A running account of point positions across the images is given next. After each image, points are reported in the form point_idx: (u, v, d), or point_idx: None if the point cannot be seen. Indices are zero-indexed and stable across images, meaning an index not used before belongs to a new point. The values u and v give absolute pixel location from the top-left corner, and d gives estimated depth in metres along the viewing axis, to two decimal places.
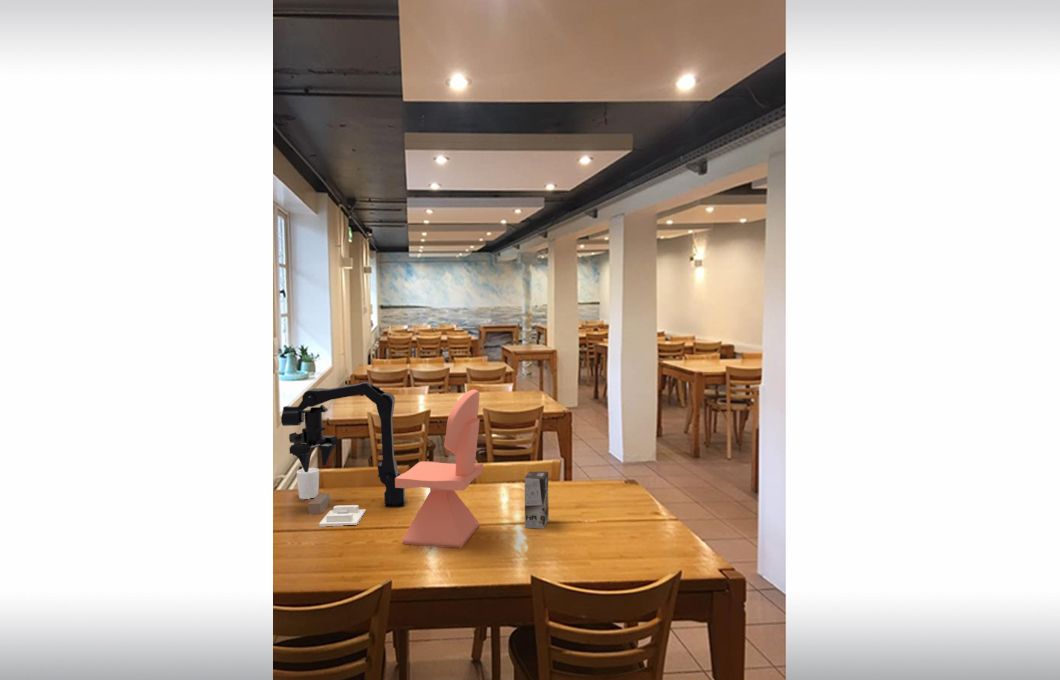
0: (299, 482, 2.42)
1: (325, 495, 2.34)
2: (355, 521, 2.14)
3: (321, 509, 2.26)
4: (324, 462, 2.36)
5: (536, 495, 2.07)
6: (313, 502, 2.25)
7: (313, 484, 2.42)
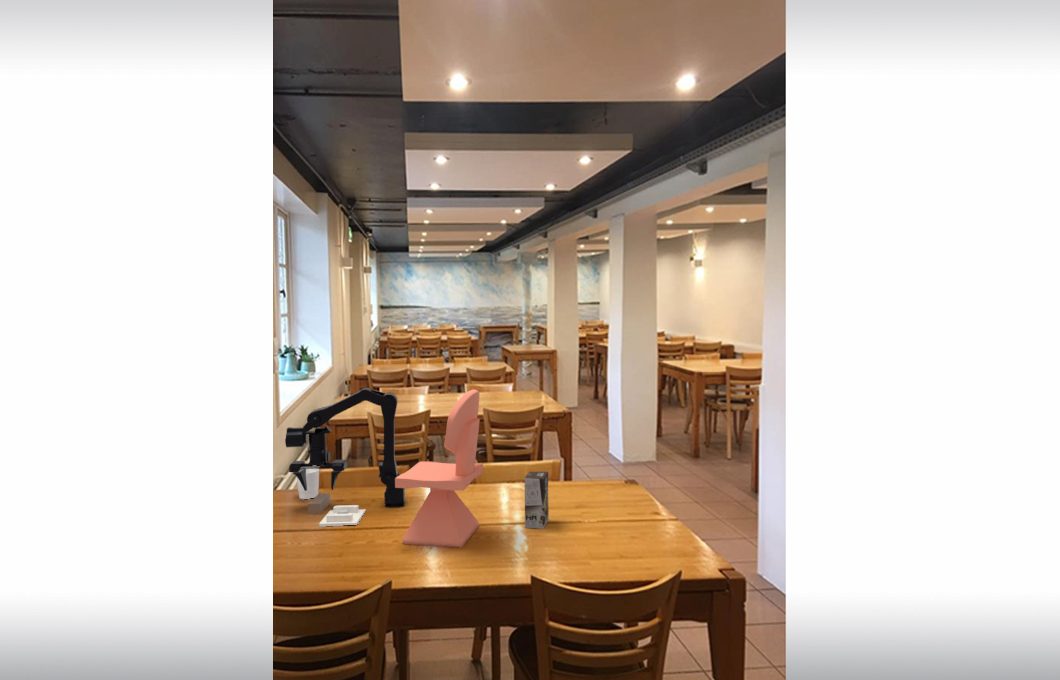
0: (299, 482, 2.42)
1: (325, 495, 2.34)
2: (355, 521, 2.14)
3: (321, 509, 2.26)
4: None
5: (536, 495, 2.07)
6: (312, 502, 2.25)
7: (313, 484, 2.42)
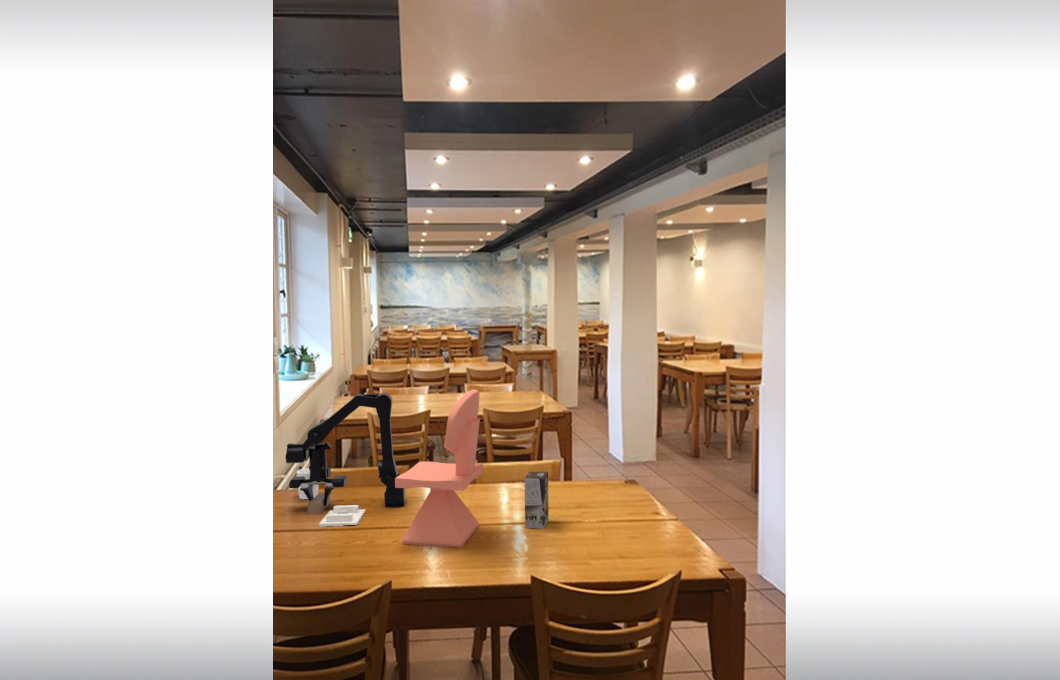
0: None
1: None
2: (355, 521, 2.14)
3: (320, 509, 2.26)
4: None
5: (536, 495, 2.07)
6: (312, 502, 2.25)
7: None
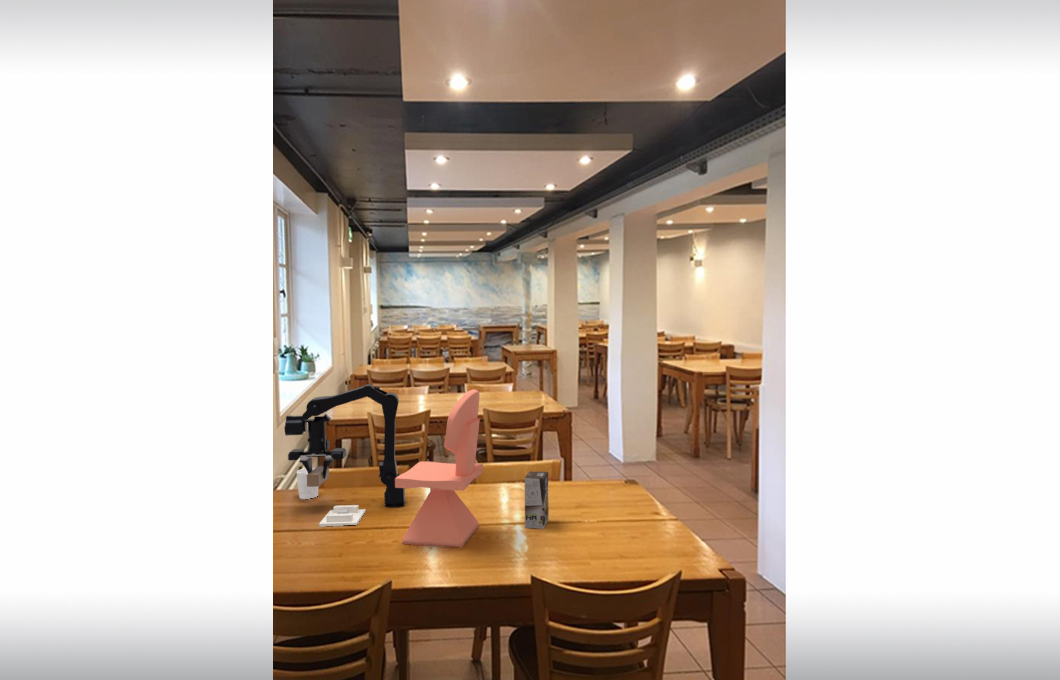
0: (299, 482, 2.42)
1: None
2: (355, 521, 2.14)
3: (320, 480, 2.25)
4: None
5: (536, 495, 2.07)
6: (311, 474, 2.25)
7: None
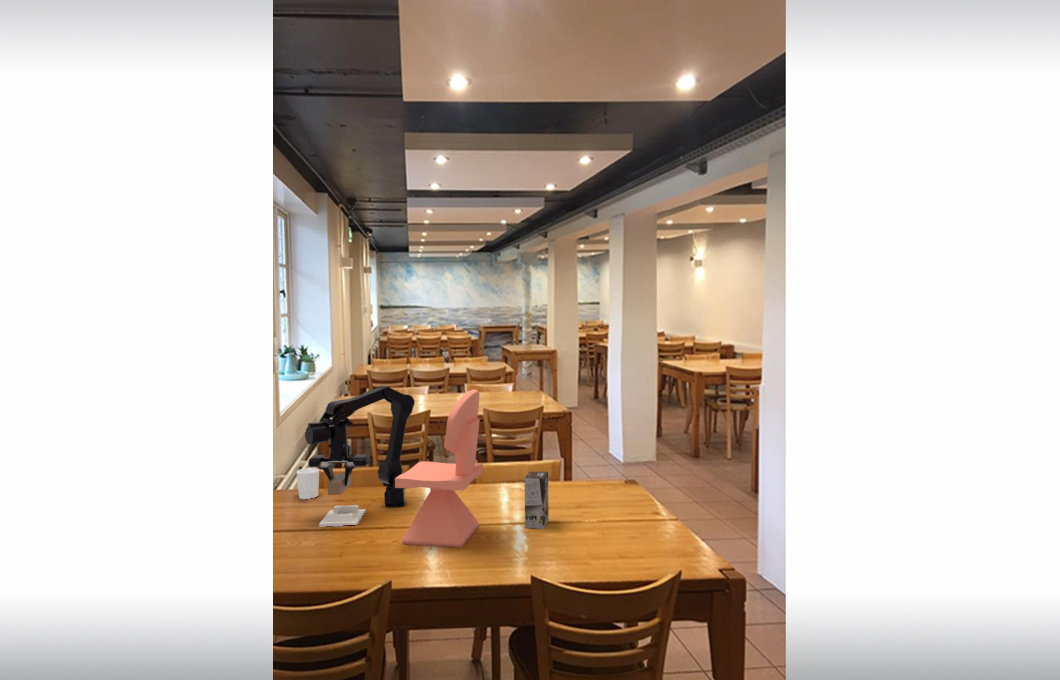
0: (299, 482, 2.42)
1: None
2: (355, 521, 2.14)
3: (341, 488, 2.15)
4: None
5: (536, 495, 2.07)
6: (332, 481, 2.14)
7: (313, 484, 2.42)
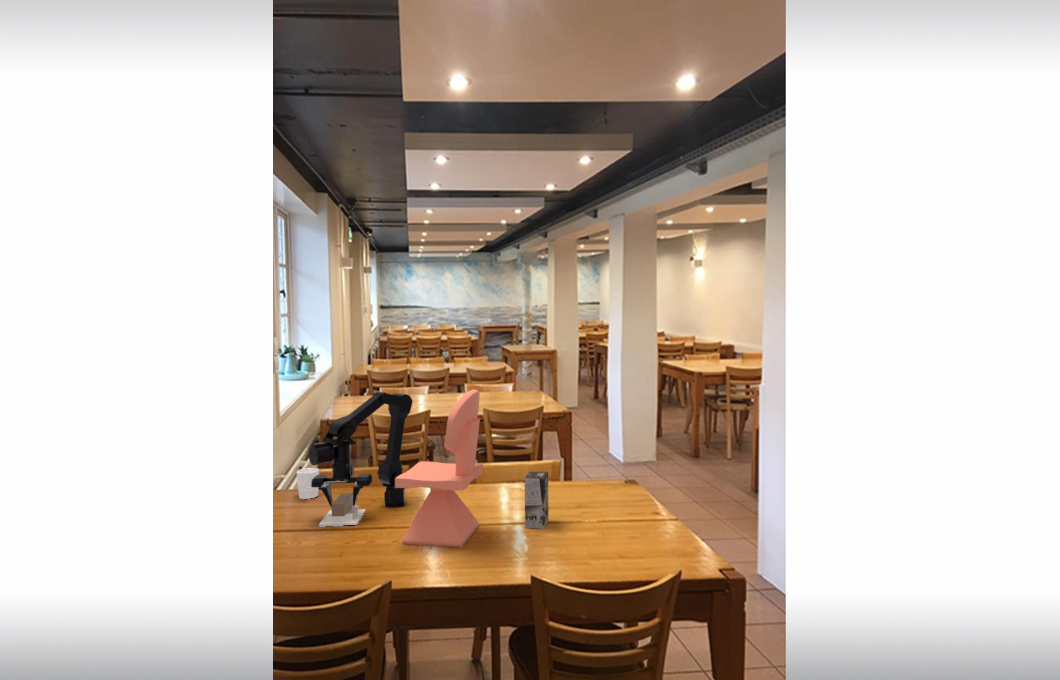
0: (299, 482, 2.42)
1: (349, 495, 2.22)
2: (355, 521, 2.14)
3: (345, 510, 2.14)
4: None
5: (536, 495, 2.07)
6: (336, 503, 2.14)
7: None
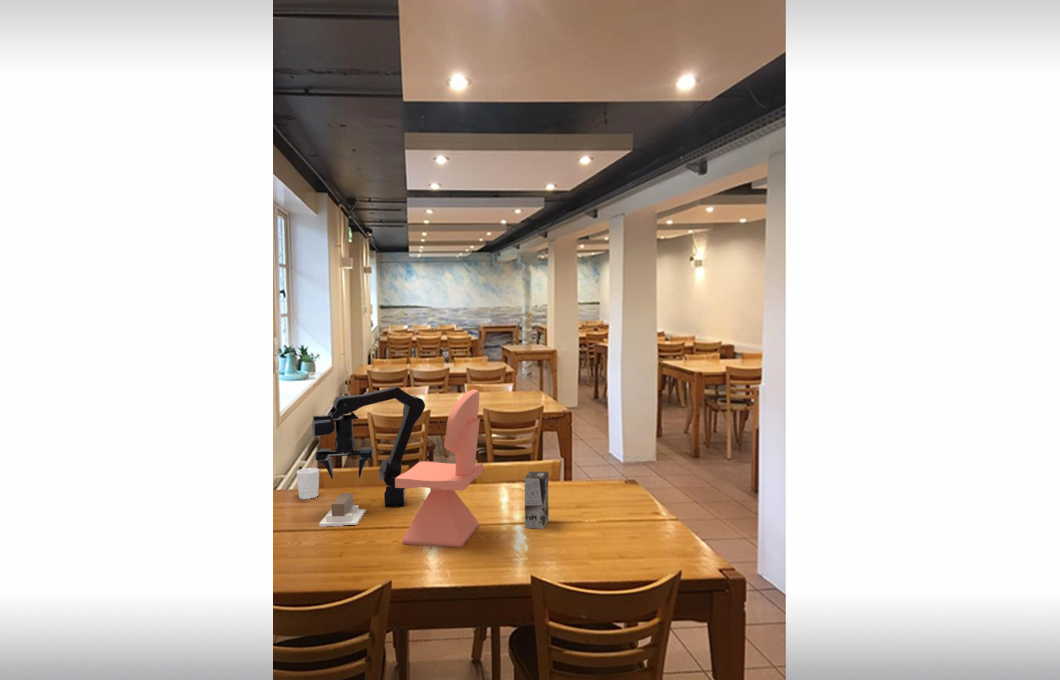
0: (299, 482, 2.42)
1: (349, 495, 2.22)
2: (355, 521, 2.14)
3: (345, 510, 2.14)
4: (359, 474, 2.26)
5: (536, 495, 2.07)
6: (336, 503, 2.14)
7: (313, 484, 2.42)
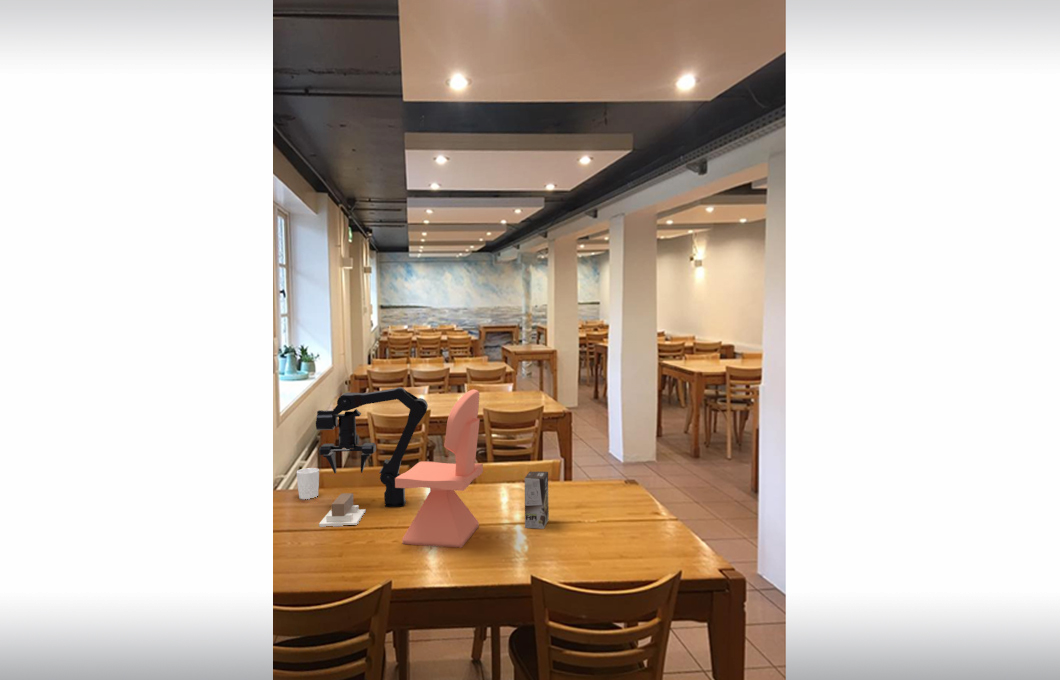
0: (299, 482, 2.42)
1: (349, 495, 2.22)
2: (355, 521, 2.14)
3: (345, 510, 2.14)
4: None
5: (536, 495, 2.07)
6: (336, 503, 2.14)
7: (313, 484, 2.42)
